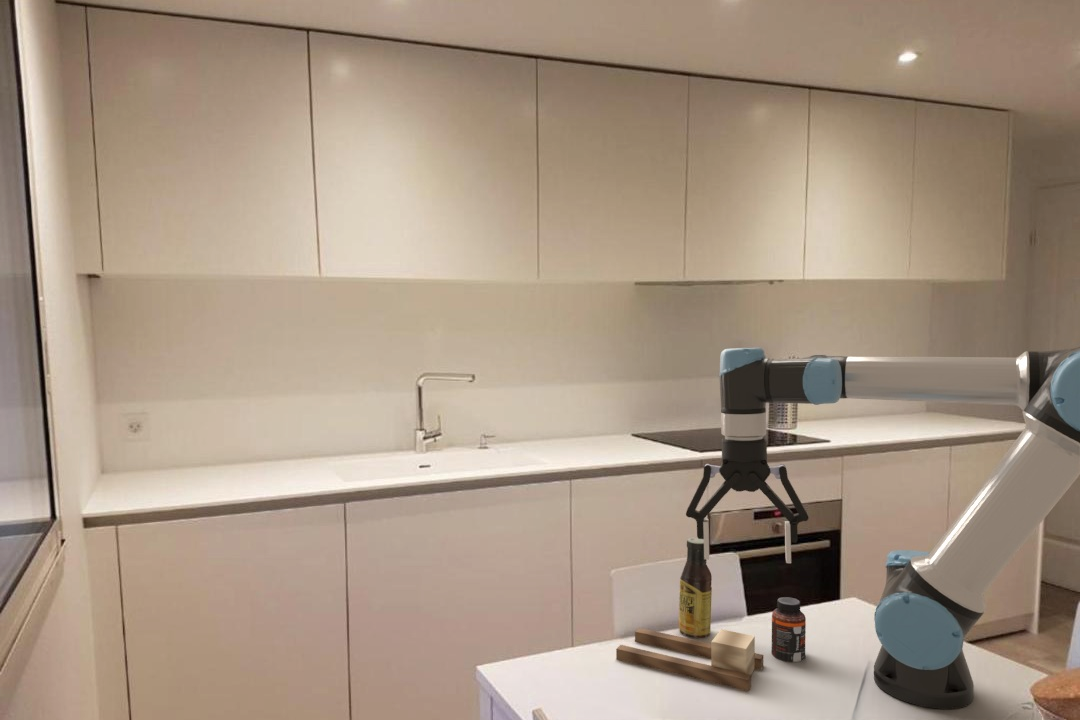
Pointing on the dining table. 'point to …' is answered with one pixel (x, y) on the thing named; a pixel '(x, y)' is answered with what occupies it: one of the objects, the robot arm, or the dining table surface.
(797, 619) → the supplement bottle
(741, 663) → the block
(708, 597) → the sauce bottle
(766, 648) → the dining table surface
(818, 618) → the dining table surface
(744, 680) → the walnut chute
